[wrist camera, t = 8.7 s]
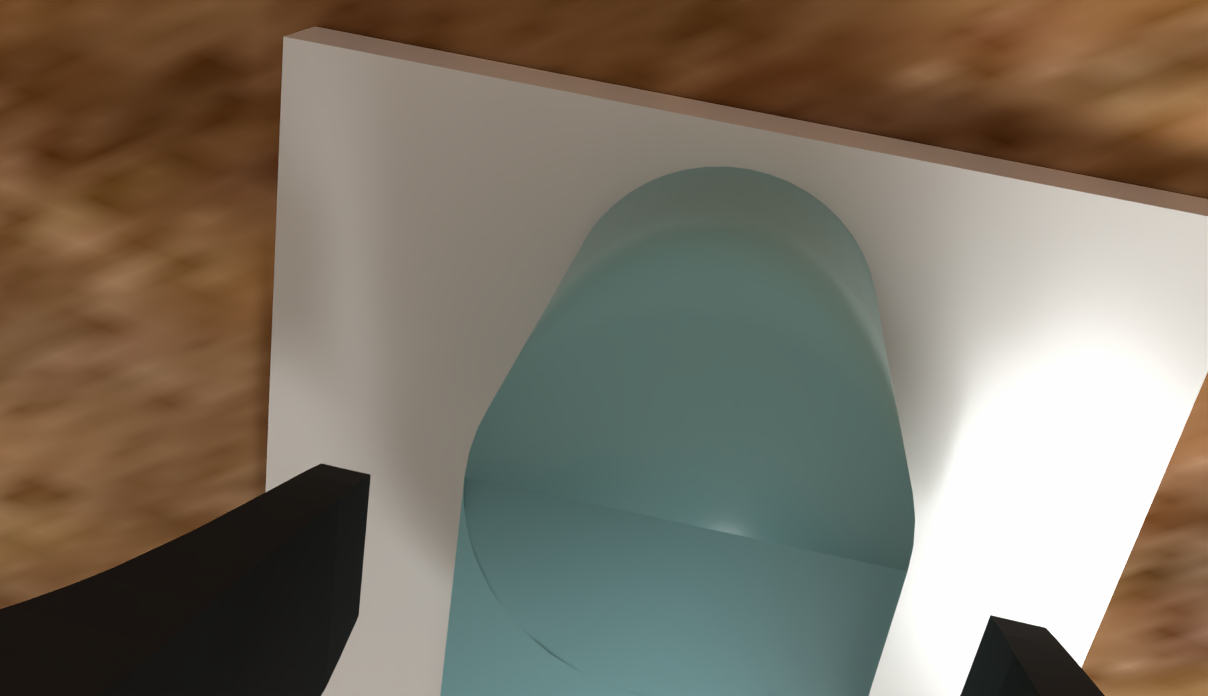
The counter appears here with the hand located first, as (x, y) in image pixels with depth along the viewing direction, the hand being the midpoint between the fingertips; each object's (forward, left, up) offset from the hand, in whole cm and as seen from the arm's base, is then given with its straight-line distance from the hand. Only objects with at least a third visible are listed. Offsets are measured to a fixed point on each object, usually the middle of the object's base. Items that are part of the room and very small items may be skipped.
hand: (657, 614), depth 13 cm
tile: (0, +1, -4) cm, 4 cm away
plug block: (0, +1, -3) cm, 3 cm away
